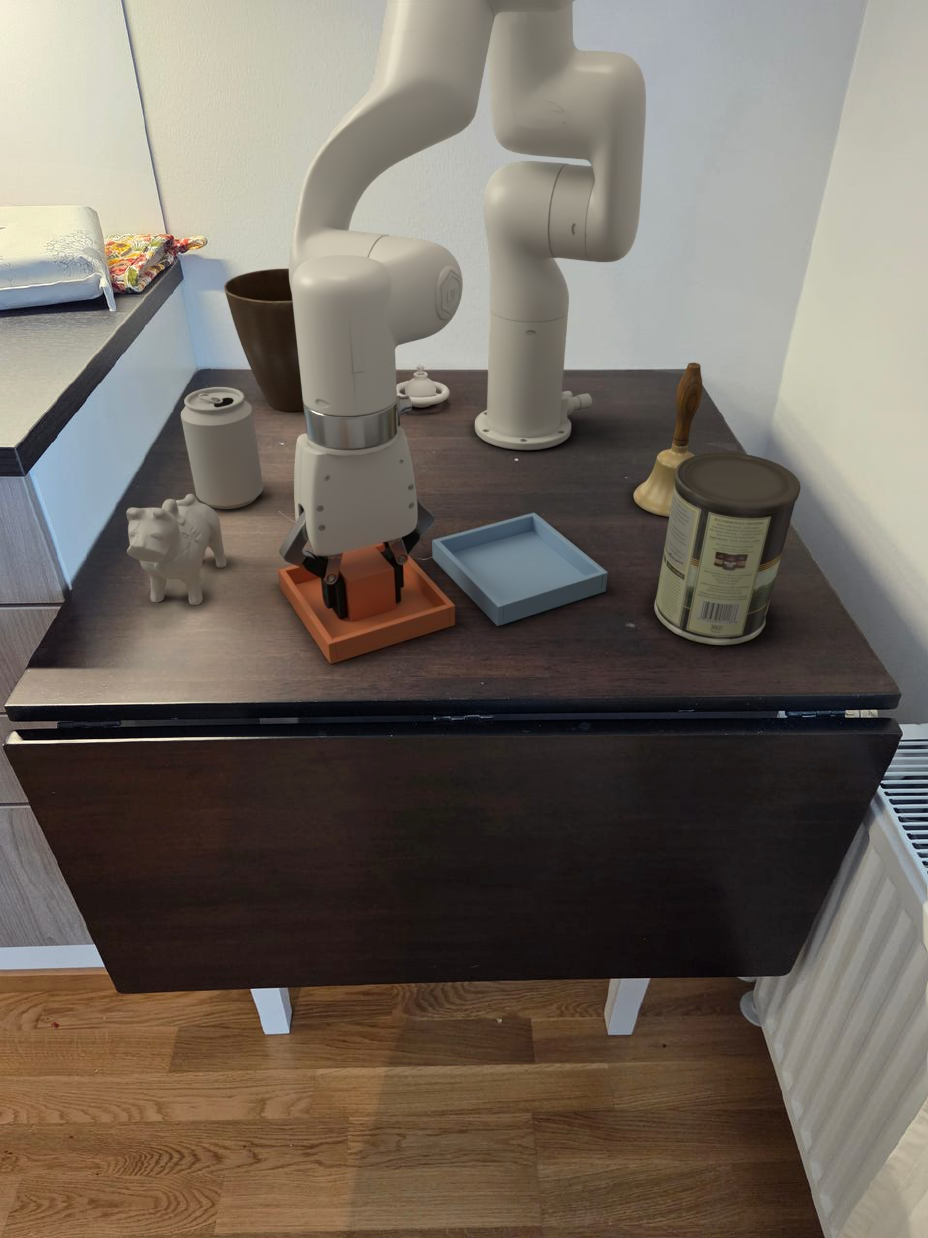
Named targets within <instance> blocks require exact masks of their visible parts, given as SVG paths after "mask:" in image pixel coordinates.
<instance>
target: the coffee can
mask: <svg viewBox="0 0 928 1238" xmlns="http://www.w3.org/2000/svg"><path fill="white" fill-rule="evenodd" d="M694 455H695V454H694ZM674 482H675V485H674V491H673V497H672V503H671V510H670V516H669V517H668V521H667V522H668V523H667V530H666V535H665V542H664V548H663V553H662V560H661V567H660V573H659V579H658V584H657V585H658V586H657V591H656V597H655V599H654V604H653V608H654V612H655V616H656V617H657V619H658V620H659V621H660V623H661V624H662V625H663V626H665V627H666V628H667V629H668V630H670V631H671V632H672V633H674V634H676V635H678V636H680V637H682V638H684V639H687V640H689V641H692V642H695V643H700V644H706V645H714V646H730V645H738V644H743V643H745V642H749V641H751V640H753V639H755V638H756V637H757V636H759V634H761V633H762V631H763V629H764V628H765V626H766V619H767V613H768V610H769V606H770V602H771V598H772V594H773V590H774V586H775V582H776V578H777V575H778V570H779V566H780V564H781V563H780V562H781V558H782V555H783V551H784V547H785V543H786V540H787V536H788V532H789V530H790V529H789V528H790V525H791V521H792V516H793V512H794V509H795V504H796V502H797V500H798V499H799V496H800V493H801V482H800V480H799V478H798V477H797V476H796V475H795V474H794V473H793V472H792V471H791V470H789V469H788V468H786V467H784V466H783V465H781V464H780V463H776V462H775V461H772V460H769V459H767V458H764V457H761V456H756V455H751V454H746V453H739V452H731V451H730V452H729V451H723V452H722V451H716V452H715V451H714V452H705V453H699V454H696V455H695V456H692V457H690V458H687V459H685V460H684V461H682V462H681V463H680V464H679V465H678V466H677V467H676V470H675V476H674Z"/></svg>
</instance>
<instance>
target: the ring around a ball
mask: <svg viewBox="0 0 928 1238" xmlns="http://www.w3.org/2000/svg"><path fill="white" fill-rule="evenodd" d="M416 370H417V371H415V372H414V373H413V374H412V375H413V378H411V379H410V380H406V381H401V382H399V383H396V386H397V396H398V395H400V396H401V397H402V396H407V395H408V396H409V397H410V399H411V402H412V407H414V408H428V407H430V406H431V405H436V404H440V403H443V402H444V401H446V400H448V398H449V397H450V394H451V392H450V389H449V388H448V386H447V385H445V384H443V383H442V382H439V381H434V380H431V379H430V378H428V375H429V374H428V373H427V372H426V371H424V370H425V367H424V365H423V364H418V365H417V366H416ZM403 391H404V394H402V393H401V392H403ZM437 391H439V392H440V393H437Z"/></svg>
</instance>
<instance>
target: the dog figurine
mask: <svg viewBox="0 0 928 1238" xmlns="http://www.w3.org/2000/svg"><path fill="white" fill-rule="evenodd" d="M125 513H126V518H127V521H128V526H127V533H128V541H129V547H128V548H127V550H126V554H127V555H128V556H129V557H131V558H132V559H135V560H137V561H139V563H140V566H141V568H142V569H143V571H145V572H146V573H147V574H148V575H149V578H150V596H149V597H150V601H151V602H152V603H159V602H162V601H163V600H165V598H166V594H165V592H166V586H167V580H168V581H169V580H180V581H181V582H182V583H184V584H185V587H186V589H187V593H188V597H187V598H188V602H189V604H190V605H192V606H199V605H200V604H201V603H203V601H204V598H203V590H202V577H201V576H202V575H201V571H202V567H203V559H204V558H205V556H206V551H207V548H209V549H210V550H211V552H212V553H213V555H214V558H215V565H216V567H217V568H222V569H223V568H225V567H227V559H226V555H225V549H224V543H223V536H222V529H221V522H220V518H219V515H218V513H217V512H216V511H215V509H214V508H213V507H211V506H209V505H207V504H206V503H204V502H199V499H198V498H197V496H196V495H194V494H193V493H188V494H186V496H185V497H184V498H183V499H177V500H176V499H174V498H167V499H165V500H164V502H162V506H161V507H129V508H127V510H126V512H125Z"/></svg>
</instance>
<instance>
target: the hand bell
mask: <svg viewBox="0 0 928 1238" xmlns="http://www.w3.org/2000/svg"><path fill="white" fill-rule="evenodd" d="M701 368H702V367H701V364H700V363H698V362H689V363H688V364H687V367H686V369H685V371H684V372H683V374H682V377H681V378H680V380H679V383H678V386H677V389H676V394H675V395H676V396H675V412H676V425H675V429H674V434H673V438H672V444H671V448H670V449H664V450H662V451H660V452H659V453H658V454H657V456H656V460H655V463H654V466H653V469H652V470H651V473H650V475H649V477H648V478H647V479H646V480H645V481H644V482H642V483H641V484H639V486H637V488H635V490H634V492H633V500H634V502H635V504H636V505H638V506H639V508H641V509H642V510H644V511H646V512H648V513H650V514H653V515H657V516H660V517H665V518H669V516H670V510H671V503H672V497H673V491H674V485H675V482H674V476H675V470H676V467H677V466H678V465H679V464H680V463H681V462H682V461H684V460H685V459H687V458H690V457H692V456H695V454H693V453H692V452H690V451H688V448H689V443H690V434H691V428H692V422H693V419H694V417H695V415H696V414H697V412H698V409H699V407H700V404H701V400H702V396H703V386H704V385H703V377H702V371H701V370H702V369H701Z"/></svg>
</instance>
